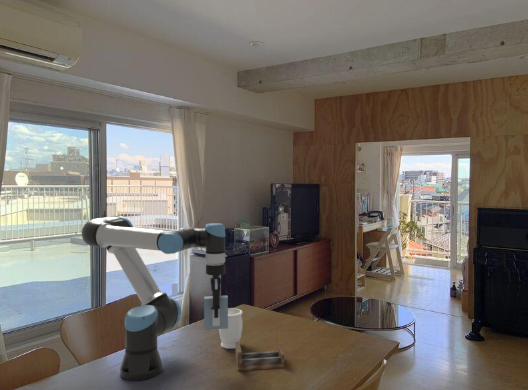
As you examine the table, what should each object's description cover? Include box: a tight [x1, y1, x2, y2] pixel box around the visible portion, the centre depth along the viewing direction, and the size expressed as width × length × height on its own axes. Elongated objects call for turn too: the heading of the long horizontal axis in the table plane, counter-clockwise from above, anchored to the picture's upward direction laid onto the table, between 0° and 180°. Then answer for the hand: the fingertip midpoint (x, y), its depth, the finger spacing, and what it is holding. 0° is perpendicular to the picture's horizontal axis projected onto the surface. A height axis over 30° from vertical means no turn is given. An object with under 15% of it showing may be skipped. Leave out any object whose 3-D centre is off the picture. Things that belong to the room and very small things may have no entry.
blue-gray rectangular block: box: [203, 295, 229, 331], centre depth 152 cm, size 9×3×12 cm, turn 99°
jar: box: [218, 307, 243, 350], centre depth 173 cm, size 11×10×15 cm
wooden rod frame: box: [234, 341, 285, 372], centre depth 156 cm, size 18×10×7 cm, turn 99°
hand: (216, 323), depth 152 cm, fingers closed on blue-gray rectangular block, 3 cm apart
